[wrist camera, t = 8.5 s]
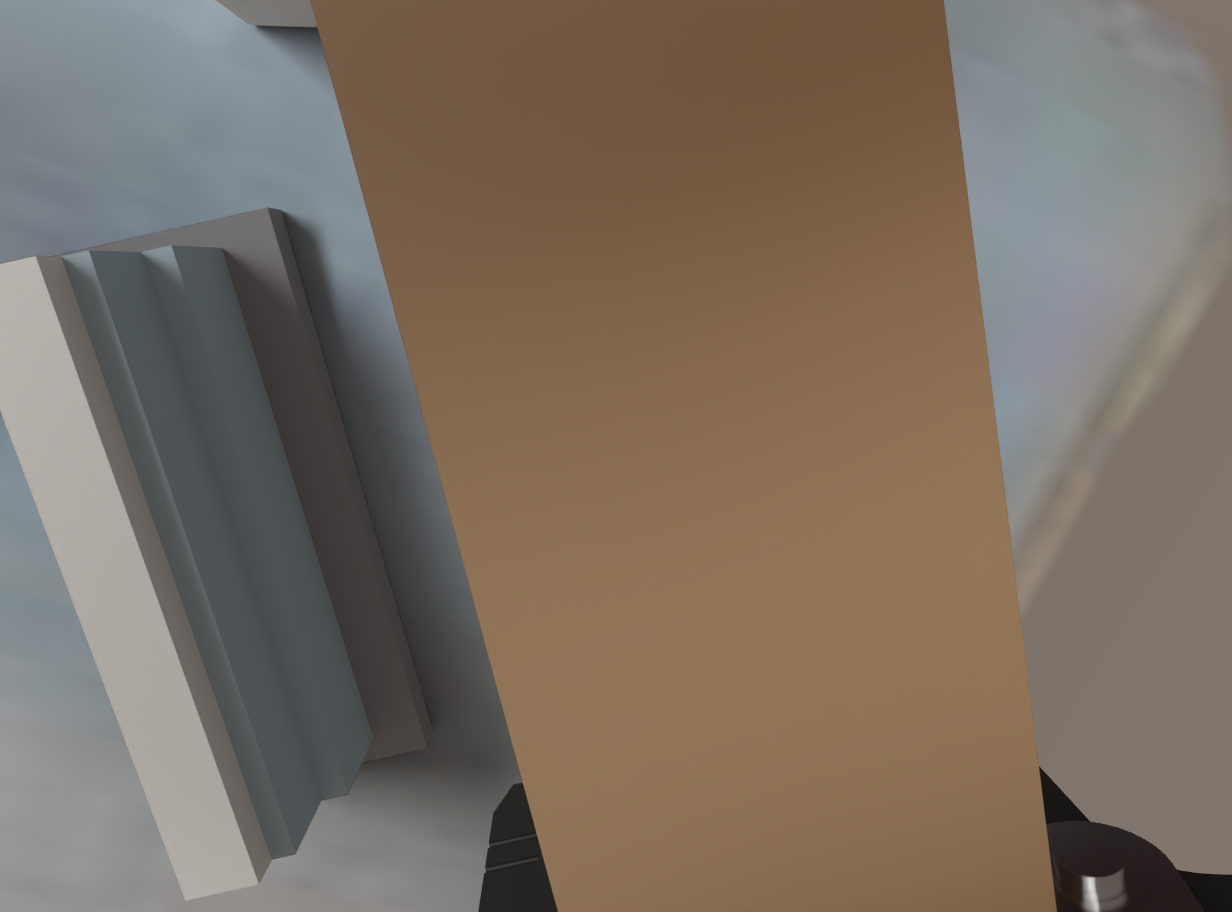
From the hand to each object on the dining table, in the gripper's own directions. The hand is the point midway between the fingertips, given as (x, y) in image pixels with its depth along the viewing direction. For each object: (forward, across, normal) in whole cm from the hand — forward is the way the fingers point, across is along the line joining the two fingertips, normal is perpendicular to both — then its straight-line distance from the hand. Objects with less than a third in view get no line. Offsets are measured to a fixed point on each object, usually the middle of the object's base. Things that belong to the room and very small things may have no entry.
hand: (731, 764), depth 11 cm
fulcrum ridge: (+24, +16, 0) cm, 29 cm away
